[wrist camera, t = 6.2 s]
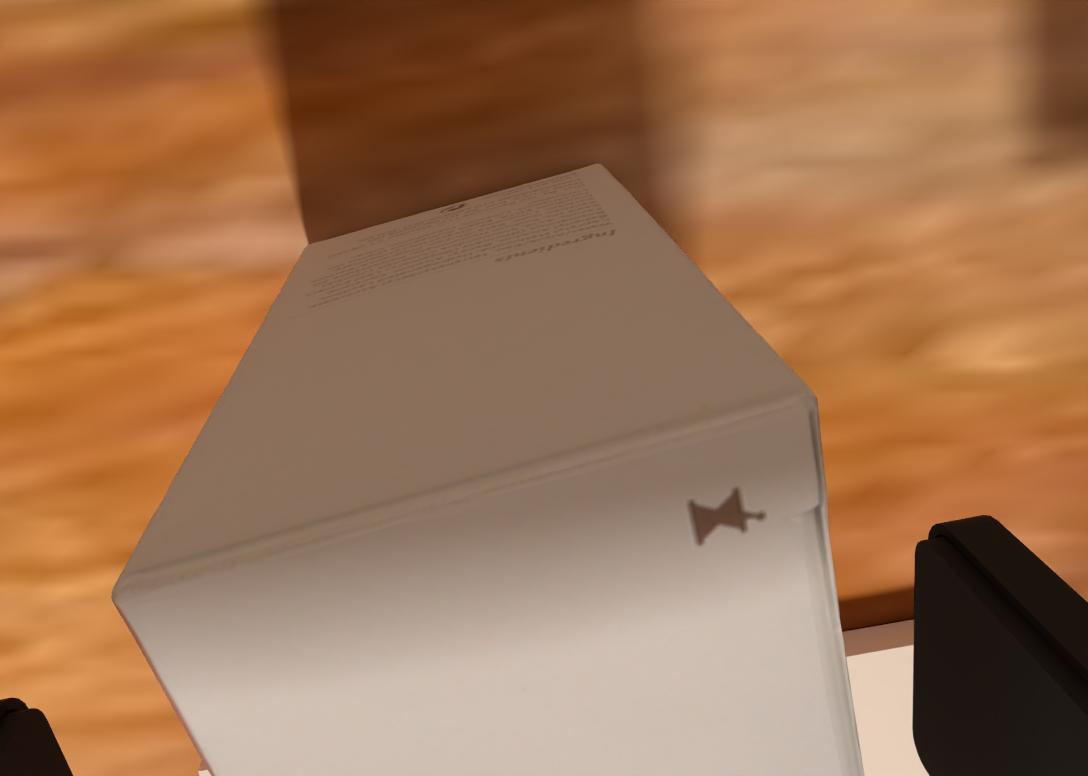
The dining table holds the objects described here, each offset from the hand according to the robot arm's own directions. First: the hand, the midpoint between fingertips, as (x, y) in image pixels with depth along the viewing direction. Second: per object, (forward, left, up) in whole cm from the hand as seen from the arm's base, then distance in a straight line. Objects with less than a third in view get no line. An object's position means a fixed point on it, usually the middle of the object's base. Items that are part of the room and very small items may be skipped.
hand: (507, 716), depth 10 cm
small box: (-1, 0, -9) cm, 9 cm away
